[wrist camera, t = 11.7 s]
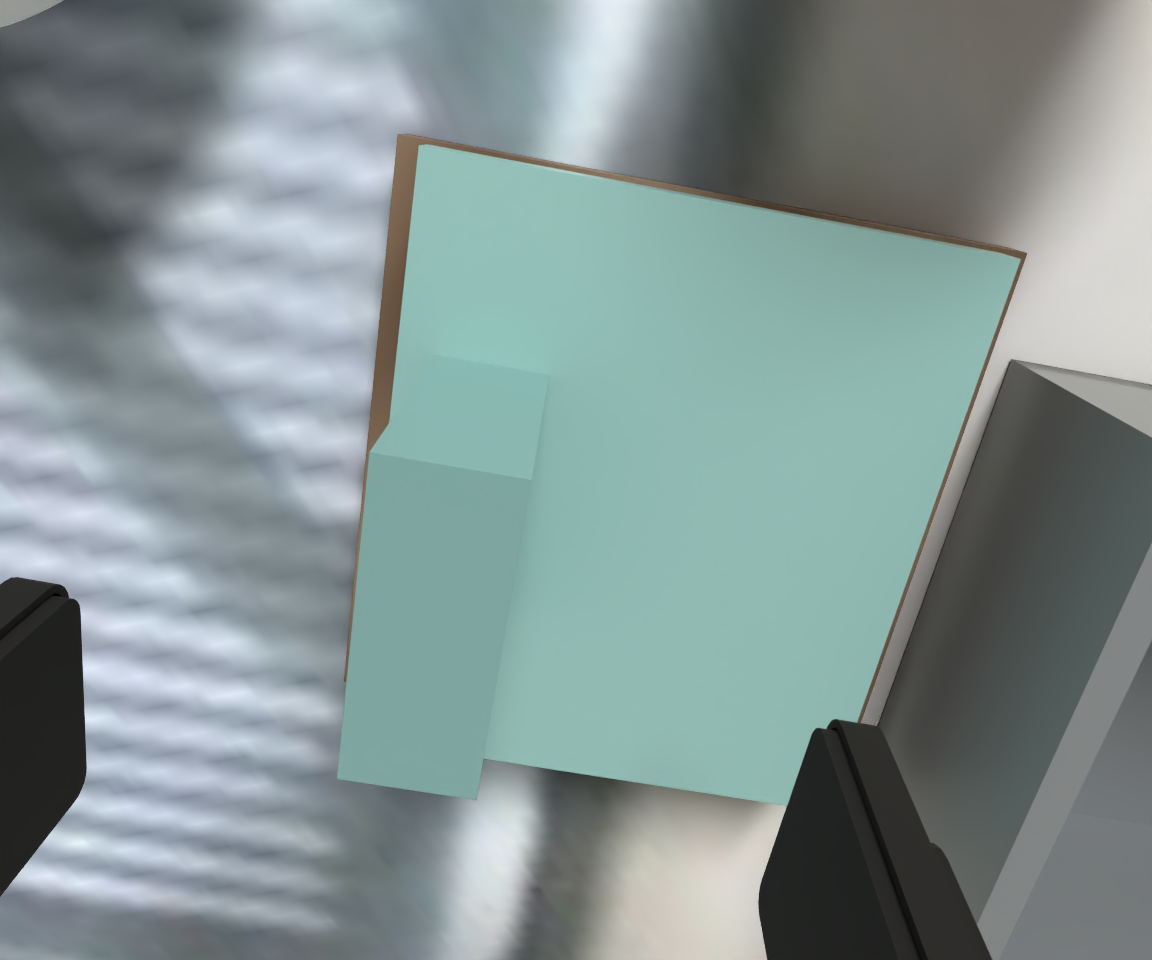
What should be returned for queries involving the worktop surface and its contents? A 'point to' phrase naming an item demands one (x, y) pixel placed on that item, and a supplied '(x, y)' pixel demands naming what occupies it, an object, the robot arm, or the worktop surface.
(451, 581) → the lid
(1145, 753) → the tub
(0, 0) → the mug
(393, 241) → the board
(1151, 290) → the worktop surface
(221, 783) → the worktop surface
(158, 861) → the worktop surface
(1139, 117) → the worktop surface
